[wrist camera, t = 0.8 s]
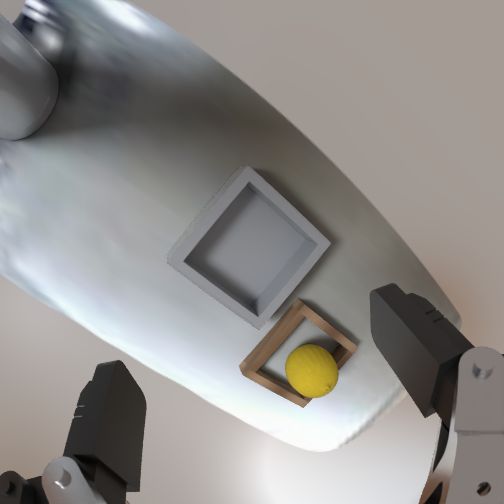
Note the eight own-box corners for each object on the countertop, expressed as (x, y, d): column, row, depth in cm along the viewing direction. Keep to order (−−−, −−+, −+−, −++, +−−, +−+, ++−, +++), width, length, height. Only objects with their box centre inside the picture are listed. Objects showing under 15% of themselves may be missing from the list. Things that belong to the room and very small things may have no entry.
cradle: (238, 365, 35) (242, 374, 33) (297, 298, 35) (304, 304, 33) (297, 399, 39) (303, 407, 37) (350, 340, 39) (358, 347, 37)
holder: (167, 253, 31) (167, 263, 27) (238, 167, 31) (248, 165, 27) (249, 314, 34) (259, 330, 30) (313, 236, 34) (331, 243, 30)
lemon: (267, 357, 36) (291, 396, 28) (301, 325, 36) (332, 357, 29) (295, 379, 38) (321, 417, 30) (326, 349, 38) (358, 382, 30)
